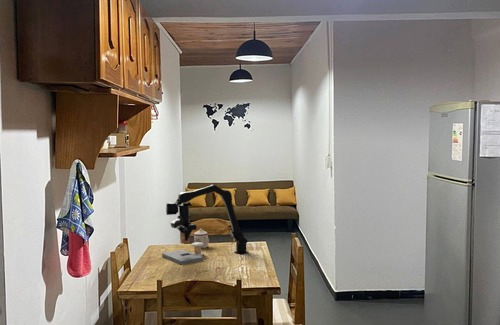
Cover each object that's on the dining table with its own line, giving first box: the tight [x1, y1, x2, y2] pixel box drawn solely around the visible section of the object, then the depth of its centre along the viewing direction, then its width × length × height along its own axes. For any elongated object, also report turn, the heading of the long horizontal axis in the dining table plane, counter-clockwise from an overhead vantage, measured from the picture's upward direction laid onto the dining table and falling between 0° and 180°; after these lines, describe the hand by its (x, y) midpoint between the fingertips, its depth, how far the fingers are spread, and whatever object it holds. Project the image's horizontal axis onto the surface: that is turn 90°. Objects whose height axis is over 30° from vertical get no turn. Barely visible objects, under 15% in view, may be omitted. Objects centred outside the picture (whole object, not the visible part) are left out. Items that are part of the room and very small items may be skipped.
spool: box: [191, 242, 205, 257], centre depth 282 cm, size 7×7×7 cm
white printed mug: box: [193, 228, 210, 249], centre depth 302 cm, size 12×9×12 cm
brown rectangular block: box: [179, 232, 191, 245], centre depth 275 cm, size 3×4×6 cm, turn 127°
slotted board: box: [161, 249, 204, 266], centre depth 275 cm, size 24×14×2 cm, turn 37°
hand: (185, 240), depth 275 cm, fingers closed on brown rectangular block, 3 cm apart
